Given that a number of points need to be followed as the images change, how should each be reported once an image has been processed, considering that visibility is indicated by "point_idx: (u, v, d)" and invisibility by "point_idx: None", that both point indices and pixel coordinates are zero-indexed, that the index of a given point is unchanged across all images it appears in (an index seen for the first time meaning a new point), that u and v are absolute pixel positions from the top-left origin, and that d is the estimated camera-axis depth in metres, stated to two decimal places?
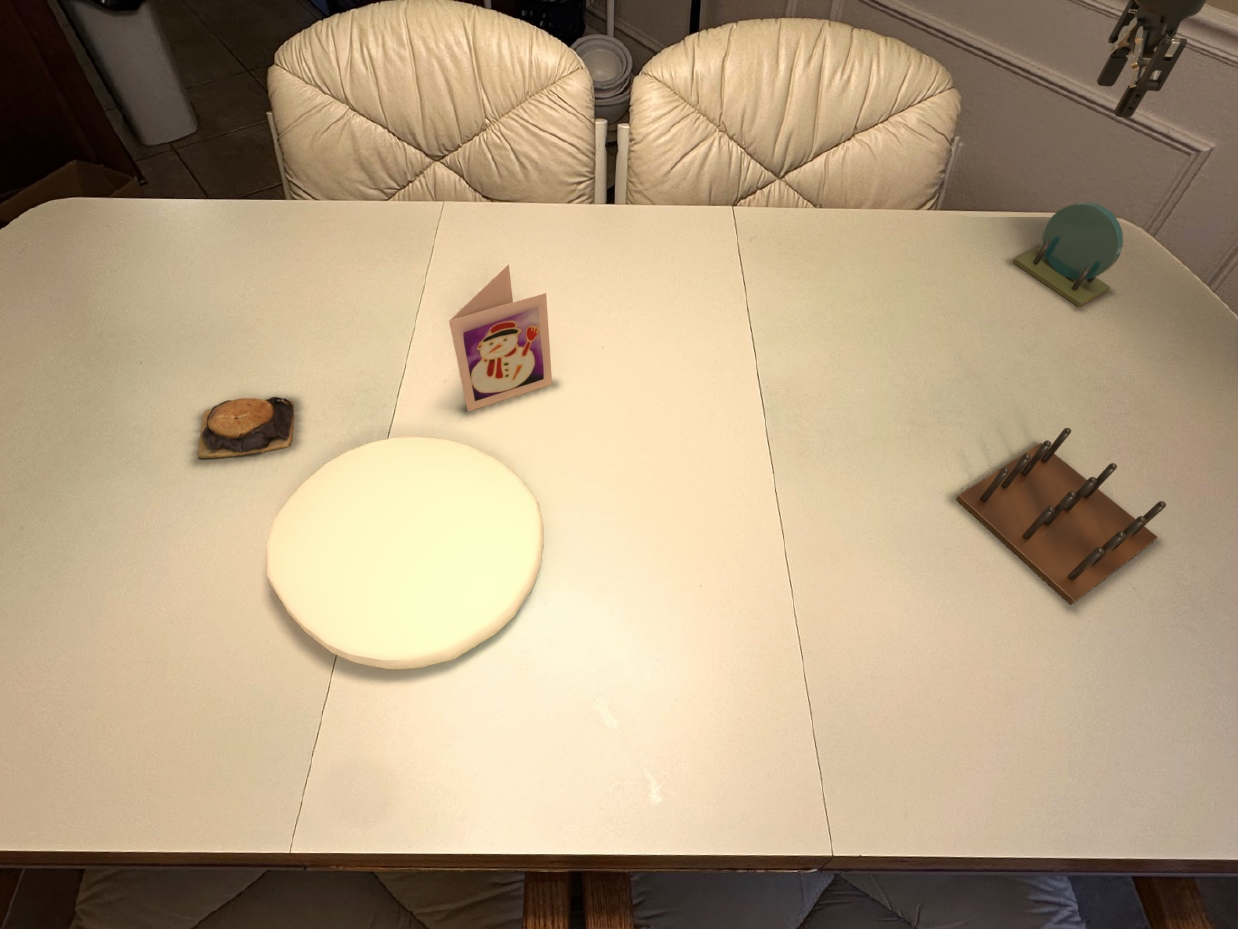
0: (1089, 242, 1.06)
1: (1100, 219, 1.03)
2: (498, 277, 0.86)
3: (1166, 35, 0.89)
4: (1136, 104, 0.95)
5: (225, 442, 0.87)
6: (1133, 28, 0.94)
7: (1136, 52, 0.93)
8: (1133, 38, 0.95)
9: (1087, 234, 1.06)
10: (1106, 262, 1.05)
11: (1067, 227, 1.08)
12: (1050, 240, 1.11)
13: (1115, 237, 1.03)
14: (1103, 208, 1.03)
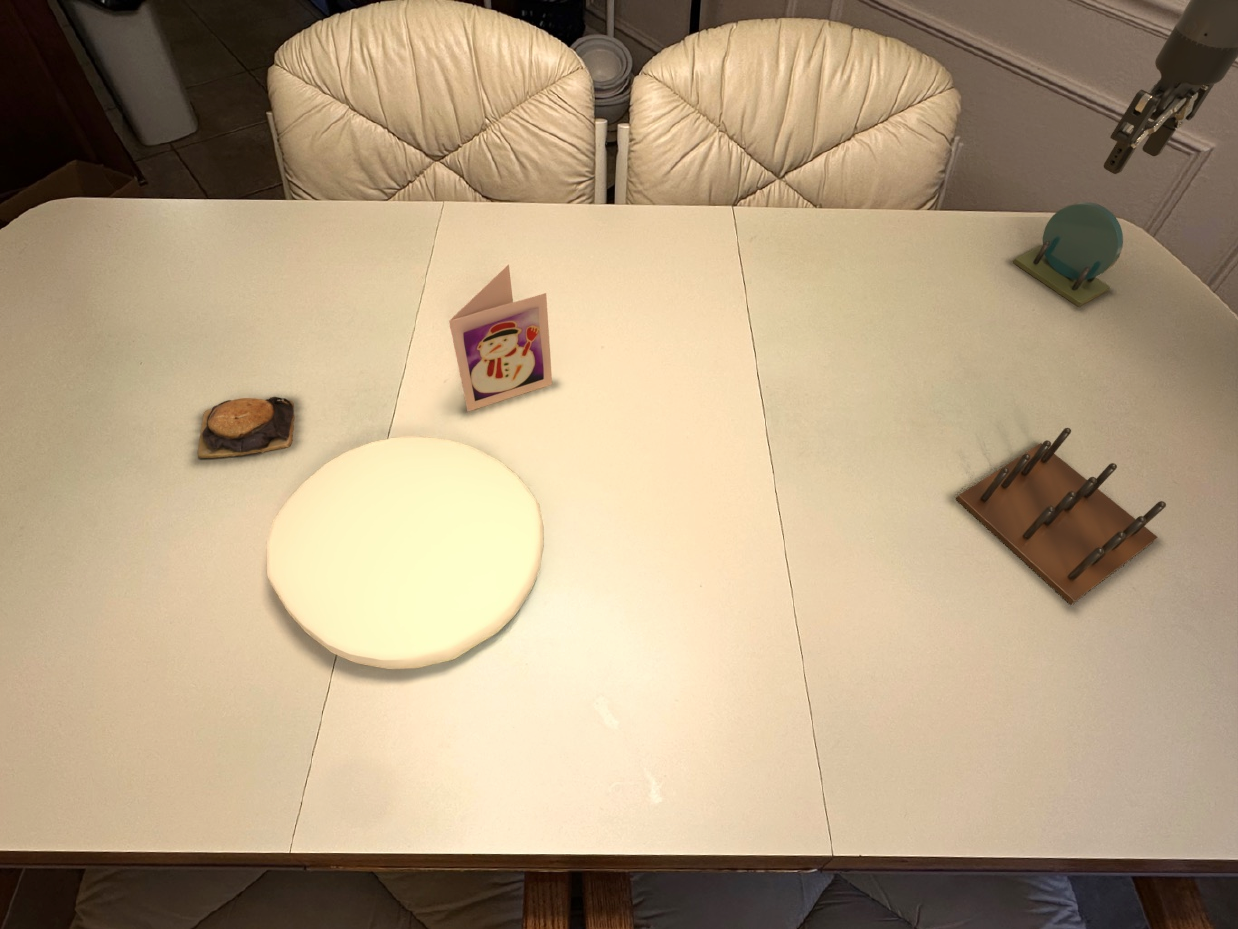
0: (1089, 242, 1.06)
1: (1100, 219, 1.03)
2: (498, 277, 0.86)
3: (1152, 92, 0.88)
4: (1117, 159, 0.94)
5: (225, 442, 0.87)
6: None
7: None
8: None
9: (1087, 234, 1.06)
10: (1106, 262, 1.05)
11: (1067, 227, 1.08)
12: (1050, 240, 1.11)
13: (1115, 237, 1.03)
14: (1103, 208, 1.03)
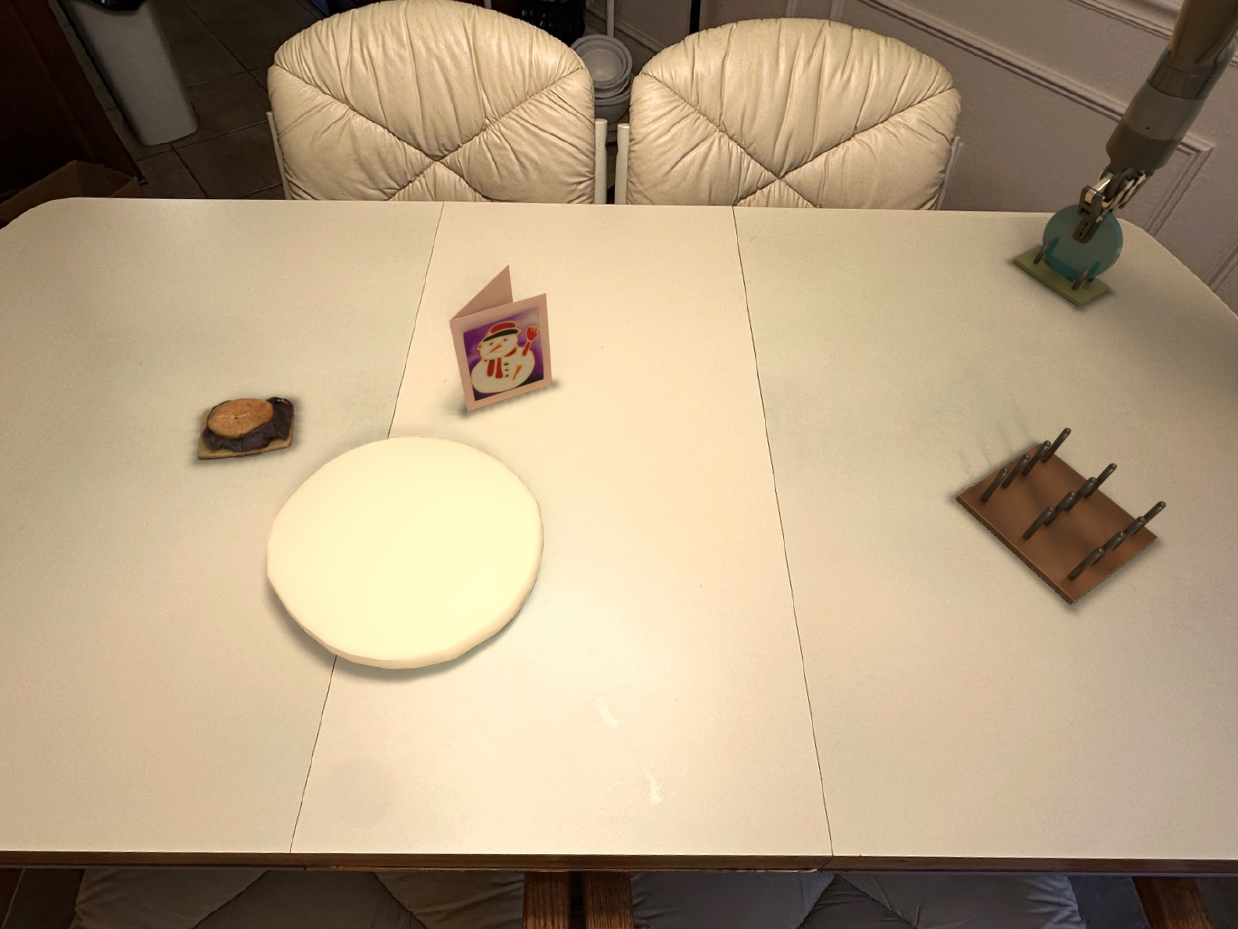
0: (1089, 242, 1.06)
1: None
2: (498, 277, 0.86)
3: (1098, 182, 0.98)
4: (1084, 231, 1.05)
5: (225, 442, 0.87)
6: None
7: None
8: None
9: None
10: (1106, 262, 1.05)
11: (1067, 227, 1.08)
12: (1050, 240, 1.11)
13: (1115, 237, 1.03)
14: None
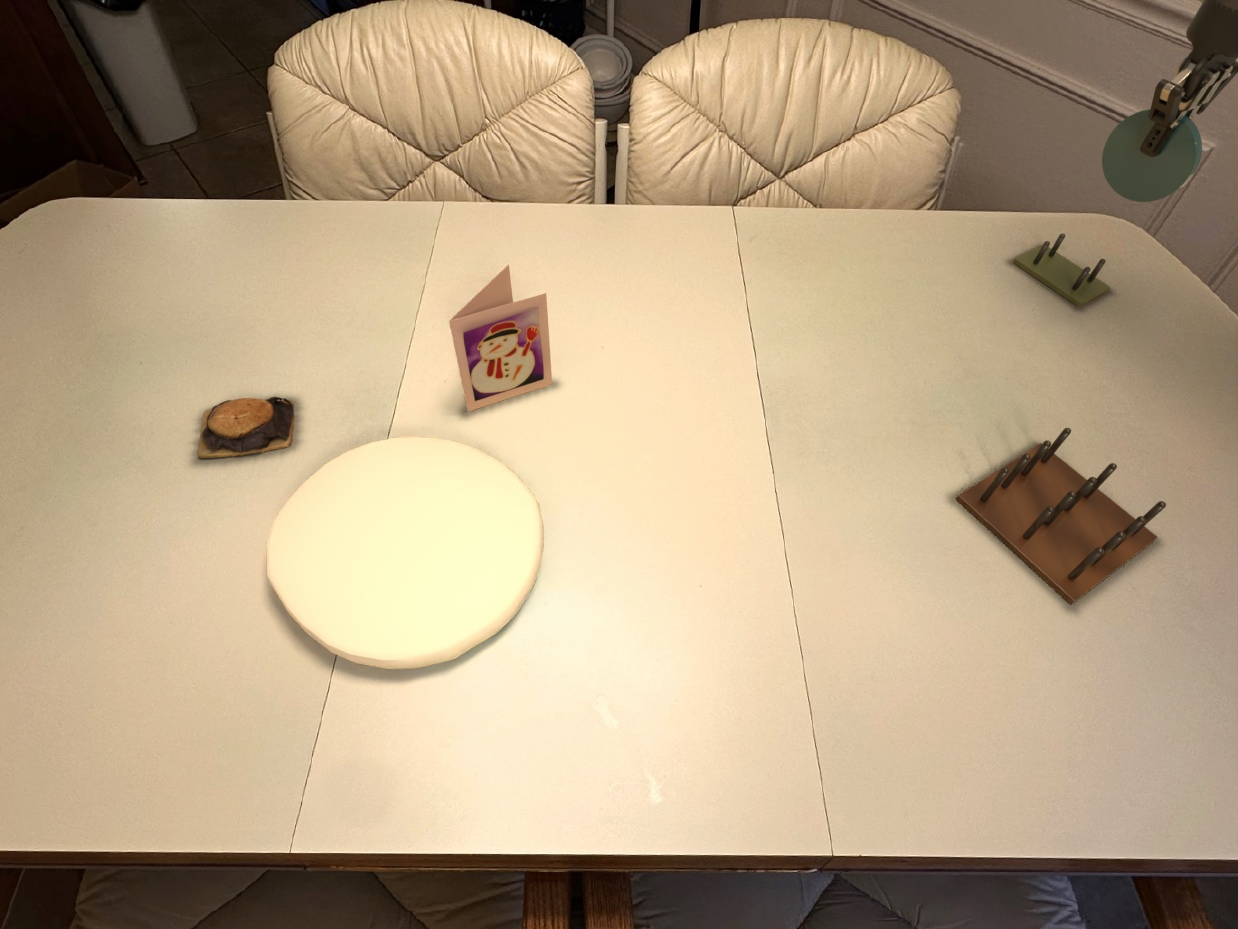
0: (1160, 154, 0.91)
1: None
2: (498, 277, 0.86)
3: (1177, 75, 0.82)
4: (1155, 141, 0.89)
5: (225, 442, 0.87)
6: None
7: None
8: None
9: None
10: (1181, 177, 0.90)
11: (1133, 139, 0.93)
12: (1111, 157, 0.96)
13: (1193, 145, 0.87)
14: None
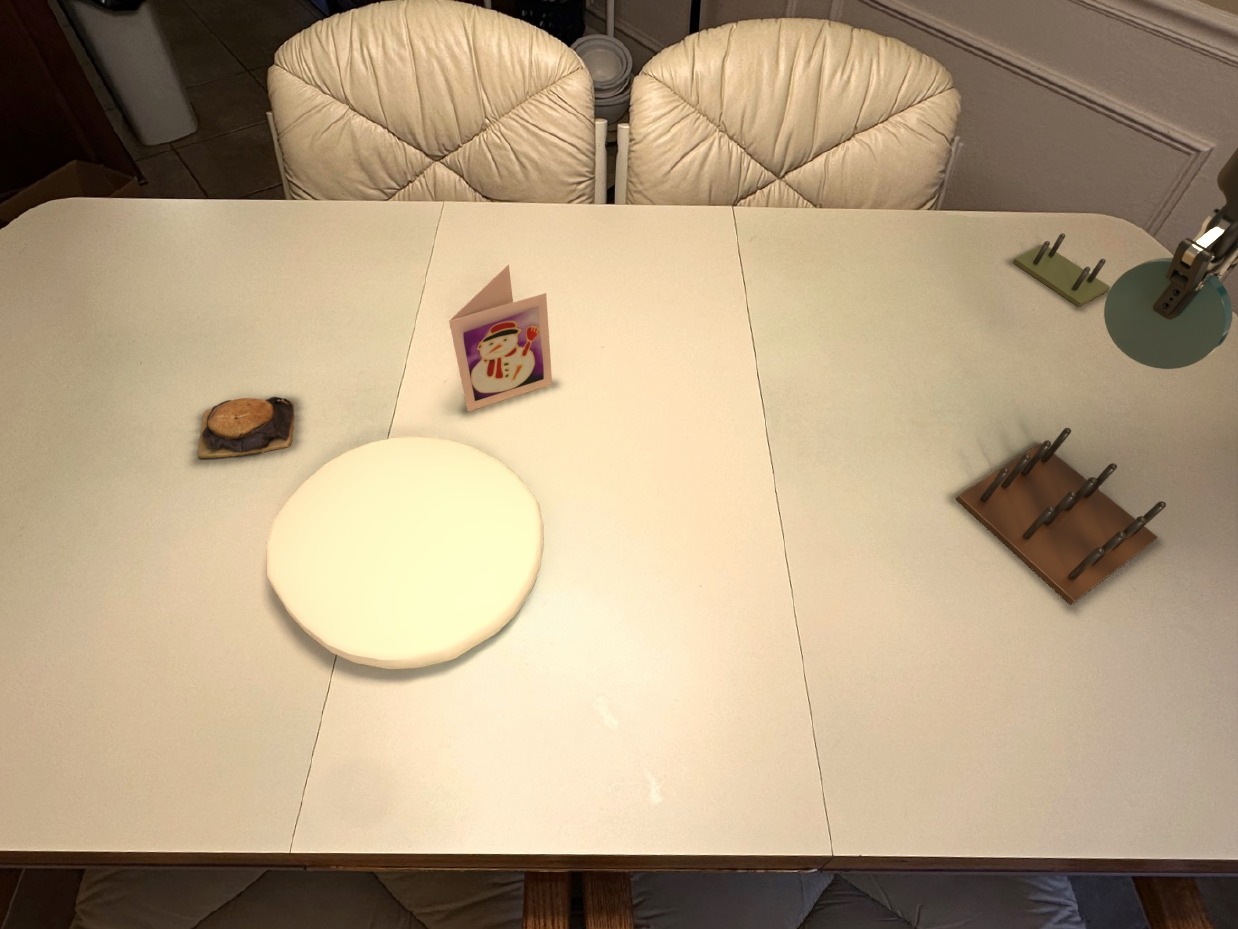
0: (1178, 317, 0.72)
1: None
2: (498, 277, 0.86)
3: (1205, 234, 0.63)
4: (1173, 303, 0.70)
5: (225, 442, 0.87)
6: None
7: None
8: None
9: None
10: (1204, 347, 0.71)
11: (1144, 293, 0.73)
12: (1116, 309, 0.76)
13: (1221, 313, 0.68)
14: None
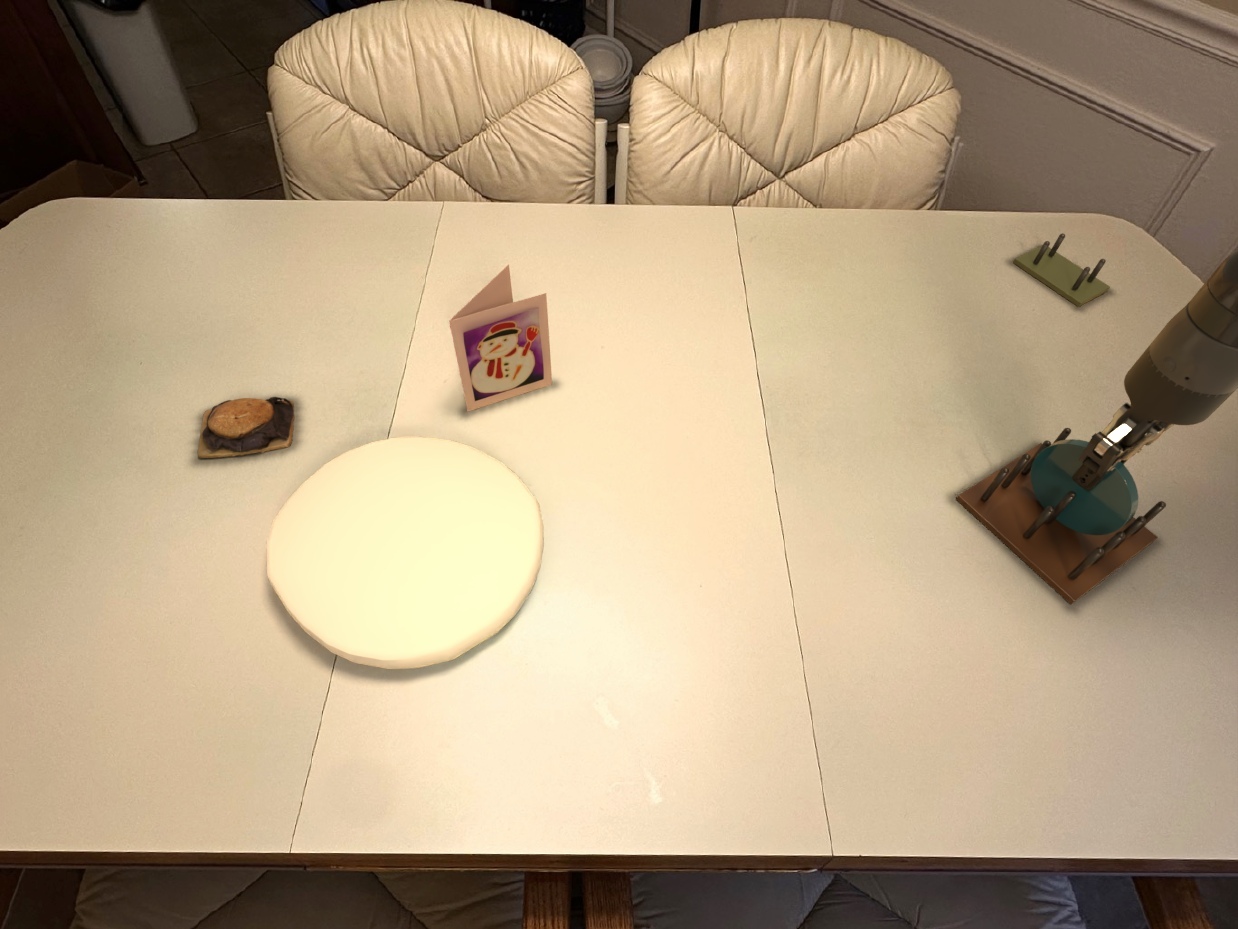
0: (1093, 493, 0.79)
1: None
2: (498, 277, 0.86)
3: (1114, 430, 0.69)
4: (1089, 479, 0.76)
5: (225, 442, 0.87)
6: None
7: None
8: None
9: None
10: (1115, 522, 0.78)
11: (1063, 468, 0.81)
12: (1040, 476, 0.84)
13: (1128, 497, 0.76)
14: None
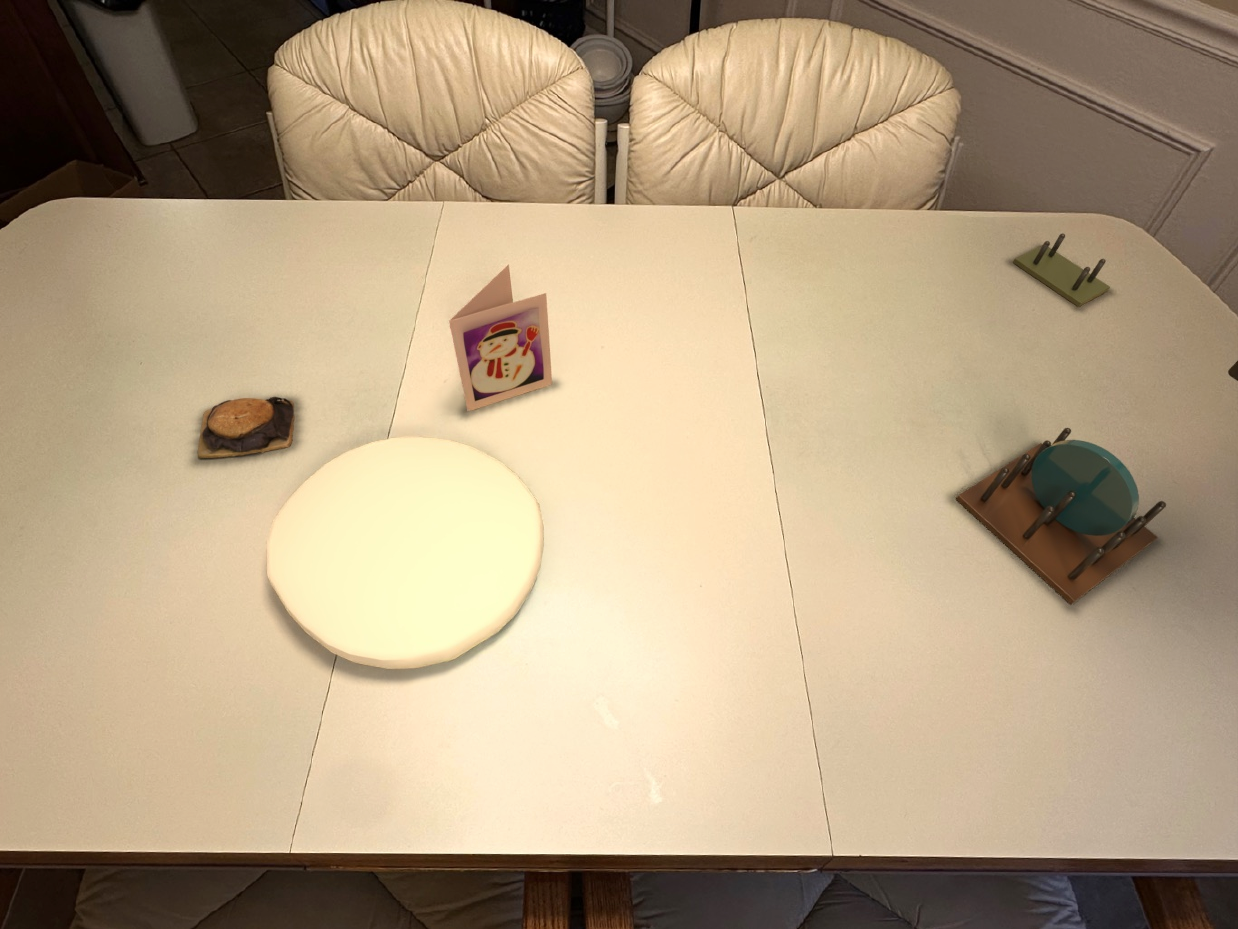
0: (1093, 494, 0.79)
1: (1108, 472, 0.76)
2: (498, 277, 0.86)
3: None
4: None
5: (225, 442, 0.87)
6: None
7: None
8: None
9: (1090, 484, 0.79)
10: (1116, 523, 0.78)
11: (1064, 468, 0.81)
12: (1041, 476, 0.84)
13: (1128, 499, 0.76)
14: (1113, 457, 0.76)
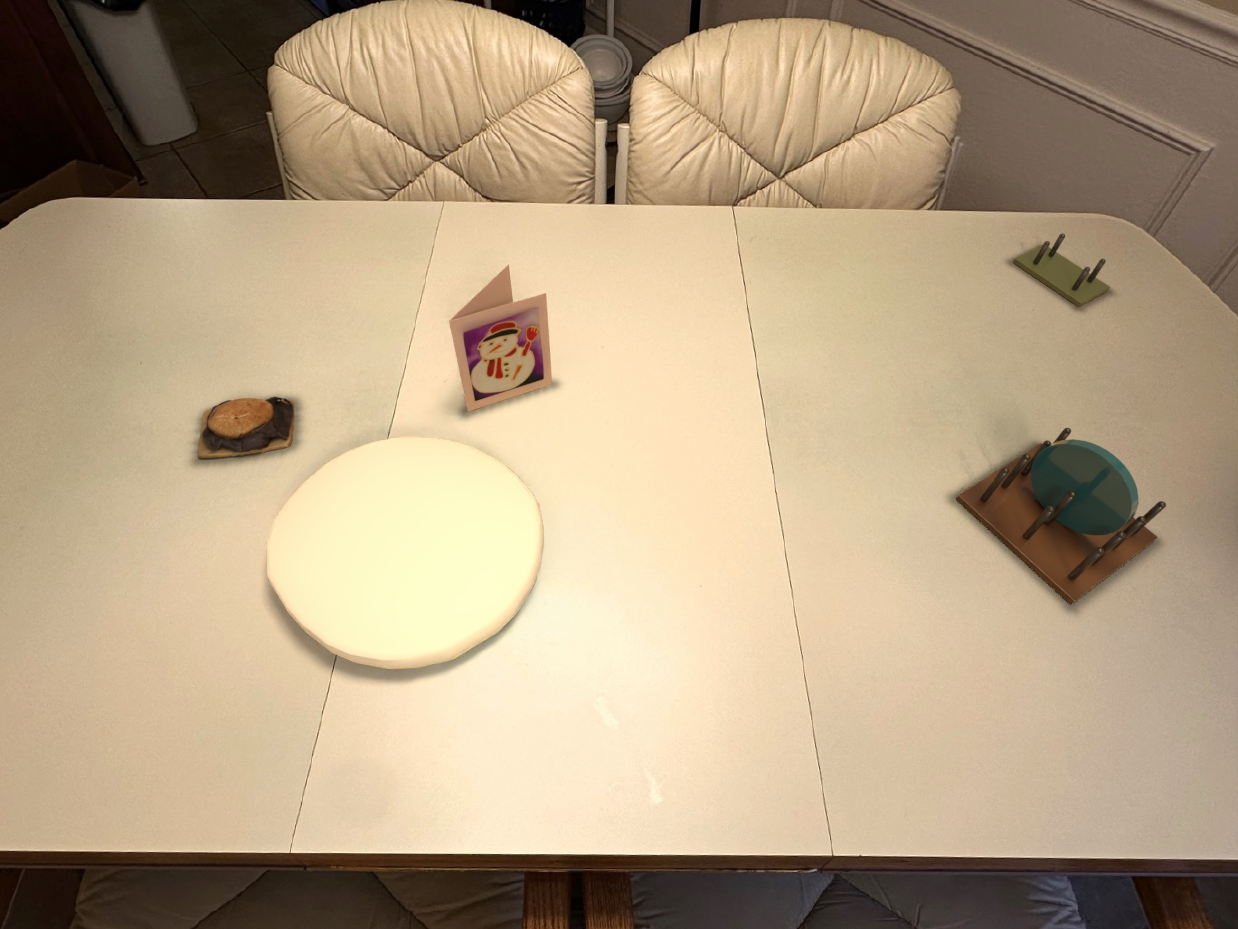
0: (1093, 493, 0.79)
1: (1107, 471, 0.76)
2: (498, 277, 0.86)
3: None
4: None
5: (225, 442, 0.87)
6: None
7: None
8: None
9: (1090, 483, 0.79)
10: (1116, 523, 0.78)
11: (1063, 468, 0.81)
12: (1041, 476, 0.84)
13: (1128, 498, 0.76)
14: (1112, 457, 0.76)
